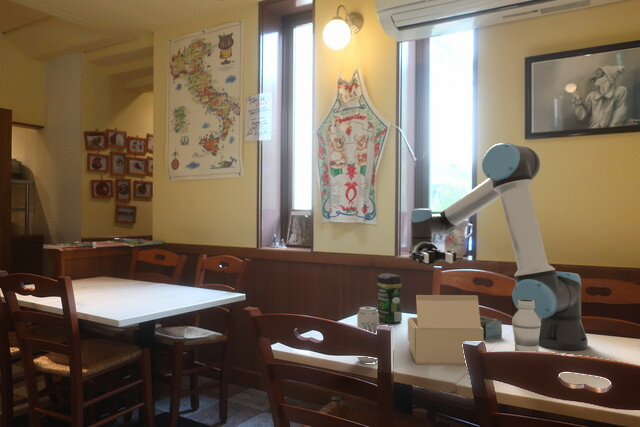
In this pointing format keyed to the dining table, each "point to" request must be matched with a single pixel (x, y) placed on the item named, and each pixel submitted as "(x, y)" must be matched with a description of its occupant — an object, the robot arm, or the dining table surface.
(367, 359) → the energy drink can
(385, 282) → the coffee jar
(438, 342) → the kraft box
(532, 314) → the plastic bottle
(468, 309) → the long flap
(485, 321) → the beverage carton
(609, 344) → the dining table surface
